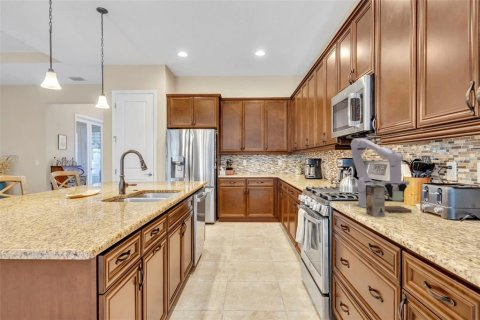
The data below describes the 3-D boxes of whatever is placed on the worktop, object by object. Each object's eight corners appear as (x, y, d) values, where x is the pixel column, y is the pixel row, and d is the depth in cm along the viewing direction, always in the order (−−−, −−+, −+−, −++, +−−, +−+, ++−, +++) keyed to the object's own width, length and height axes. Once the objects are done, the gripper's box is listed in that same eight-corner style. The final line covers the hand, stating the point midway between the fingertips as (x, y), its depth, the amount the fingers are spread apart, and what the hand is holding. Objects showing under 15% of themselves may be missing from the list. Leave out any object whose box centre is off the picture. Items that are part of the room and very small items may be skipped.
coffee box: (365, 213, 148) (365, 184, 148) (376, 212, 148) (376, 184, 148) (373, 216, 139) (373, 186, 139) (385, 216, 139) (385, 186, 139)
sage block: (389, 199, 152) (389, 190, 152) (398, 199, 152) (397, 190, 152) (393, 200, 147) (393, 191, 147) (402, 200, 147) (402, 191, 147)
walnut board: (379, 208, 160) (379, 206, 160) (399, 208, 159) (399, 205, 159) (389, 212, 148) (389, 209, 148) (411, 212, 147) (411, 209, 147)
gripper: (385, 174, 146) (385, 198, 146) (412, 173, 145) (412, 198, 145) (379, 173, 153) (380, 196, 153) (405, 173, 152) (405, 196, 152)
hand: (395, 197), depth 150 cm, fingers closed on sage block, 5 cm apart
